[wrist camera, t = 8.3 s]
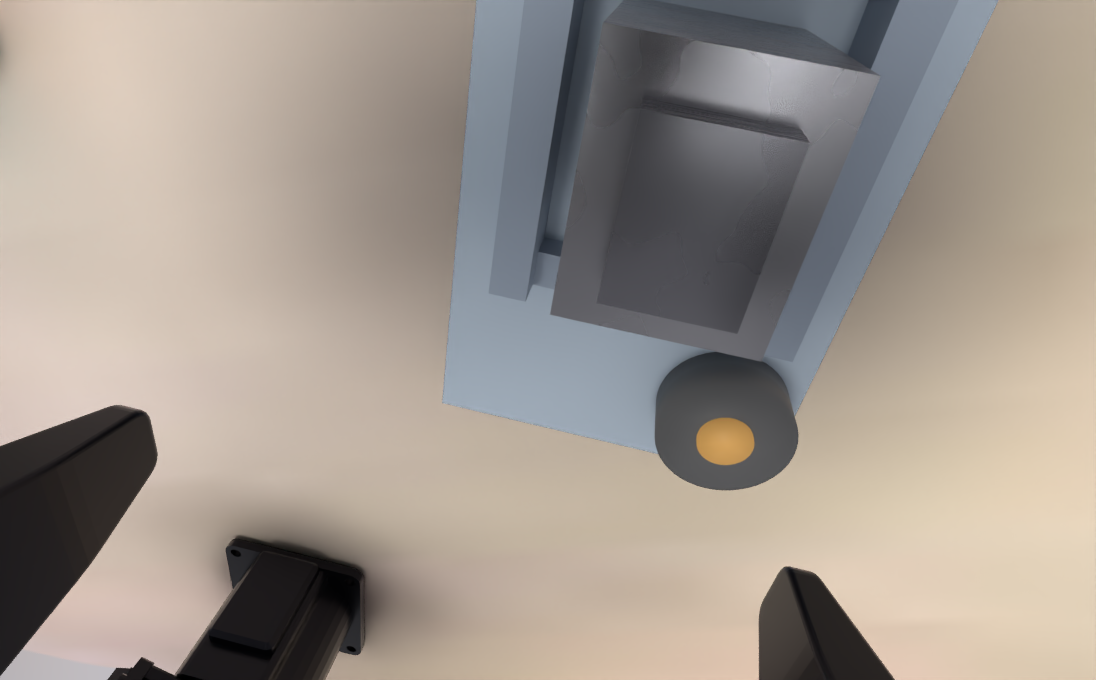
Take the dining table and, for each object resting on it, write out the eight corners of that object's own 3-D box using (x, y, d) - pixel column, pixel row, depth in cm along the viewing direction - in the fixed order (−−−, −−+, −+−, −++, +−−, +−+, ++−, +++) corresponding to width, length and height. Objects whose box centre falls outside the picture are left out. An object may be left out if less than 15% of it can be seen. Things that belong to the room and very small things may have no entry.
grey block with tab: (735, 236, 17) (766, 387, 11) (586, 205, 17) (542, 336, 11) (806, 29, 14) (898, 86, 8) (628, -5, 14) (598, 27, 8)
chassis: (759, 454, 22) (771, 525, 19) (452, 382, 22) (422, 441, 20) (1003, -63, 13) (1084, -65, 11) (503, -155, 14) (463, -179, 11)
